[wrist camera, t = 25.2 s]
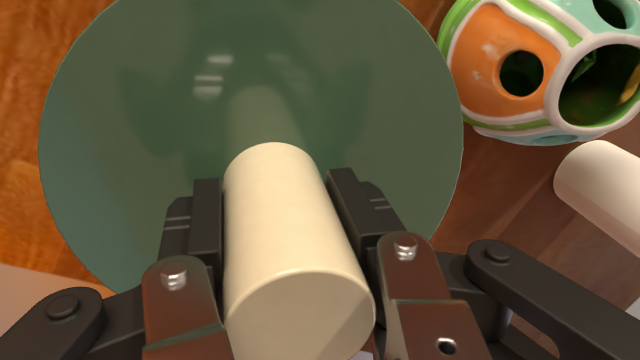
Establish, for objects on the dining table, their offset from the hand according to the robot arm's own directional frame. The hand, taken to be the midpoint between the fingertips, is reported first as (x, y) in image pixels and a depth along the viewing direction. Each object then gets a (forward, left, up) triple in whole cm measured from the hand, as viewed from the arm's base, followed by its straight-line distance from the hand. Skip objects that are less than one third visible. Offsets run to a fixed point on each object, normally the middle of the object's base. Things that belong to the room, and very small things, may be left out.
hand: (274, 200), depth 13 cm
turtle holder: (0, +22, -21) cm, 31 cm away
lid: (0, 0, -2) cm, 2 cm away
